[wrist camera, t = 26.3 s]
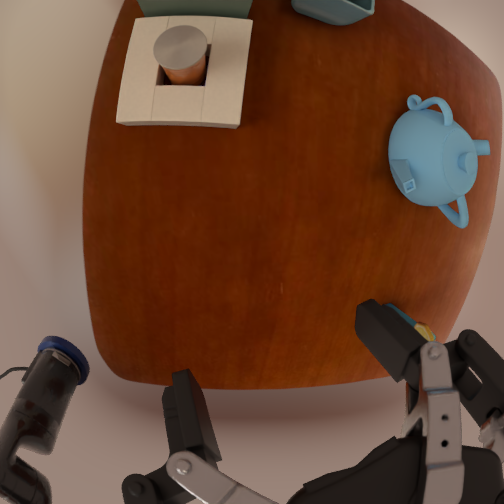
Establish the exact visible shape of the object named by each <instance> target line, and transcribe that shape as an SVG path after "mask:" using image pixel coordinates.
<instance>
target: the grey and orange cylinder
mask: <svg viewBox="0 0 504 504" xmlns="http://www.w3.org/2000/svg"><path fill="white" fill-rule="evenodd" d="M206 50H207V39H206V37H205V35H204V33H203V32H202V31H201V30H199V29H198V28H196V27H193V26H189V25H179V26H175V27H172V28H169V29H167V30H166V31H164V32H163V33H162V34H161V35H160V36H159V37H158V38H157V39H156V41H155V43H154V46H153V55H154V58H155V59H156V61H157V62H158V63H159V64H160V65H161V66H162V67H163V69H164V71H165V73H166V75H167V76H168V78H169V80H170V82H171V83H172V85H186V86H198V85H200V84H201V83H202V81H203V80H204V78H205V75H206V61H205V52H206Z"/></svg>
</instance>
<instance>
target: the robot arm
mask: <svg viewBox="0 0 504 504" xmlns="http://www.w3.org/2000/svg"><path fill="white" fill-rule="evenodd" d="M355 331H356V334H357V336H358V338H359V339H360V340H361V341H362V342H363V343H364V345H365V346H366V347H367V348H368V349H369V350H370V352H371V353H372V354H373V355H374V356H375V357H376V359H377V360H378V361H379V362H380V363H381V365H382V366H383V367H384V368H385V369H386V370H387V372H388V373H389V374H390V375H391V376H392V378H393V379H394V380H395V381H396V382H397V383H398V382H399V381H401V380H402V379H405V380H406V381H407V382H406V404H405V407H406V408H405V419H404V423H403V426H402V430H401V438H399V439H396V437H395V436H393V437H392V438H390V439H389V440H387V441H386V442H384V443H383V444H381V445H379V446H378V447H376V448H375V449H373V450H372V451H371V452H370V453H369V454H368V455H367V456H366V457H365V458H364V459H363V460H362V461H361V462H359V463H358V464H357V465H356V466H354V467H351V468H348V469H344V470H340V471H336V472H332V473H328V474H325V475H323V476H321V477H319V478H316V479H314V480H312V481H309V482H307V483H305V484H303V488H302V489H300V490H299V491H297V492H296V493H295V494H294V495H293V496H292V497H291V498H290V499H289V501H288V502H287V504H504V479H503V473H502V463H503V462H504V360H503V359H502V358H501V357H500V356H499V354H498V353H497V352H496V351H495V350H494V349H493V348H492V347H491V346H490V345H489V344H488V343H487V342H486V341H485V340H484V339H483V338H482V337H481V336H480V335H479V334H478V333H477V332H475V331H473V330H470V329H469V330H468V329H467V330H463V331H462V332H461V333H460V334H459V337H458V339H457V340H454V341H451V342H448V343H445V344H442V343H440V342H437V341H430V342H429V341H428V340H426V339H425V338H424V337H423V336H422V335H421V334H420V333H419V332H418V331H417V330H416V329H415V328H414V327H413V326H412V325H411V324H410V323H409V322H406V320H405V319H404V318H403V317H402V316H400V314H399V313H398V312H397V311H396V310H395V309H393V308H391V307H389V306H387V305H385V304H383V305H379V304H378V303H377V302H376V301H375V300H374V299H369V300H367V301H365V302H363V303H361V304H359V305H357V310H356V320H355ZM469 366H470V368H471V369H472V370H473V371H474V372H475V373H476V374H477V375H478V377H479V378H480V379H481V381H482V383H481V382H480V381H479V380H478V379H477V378H476V376H475V375H474V374H473V373H472V372H471V371H470V370H469ZM17 370H26V373H25V375H24V376H23V378H22V383H23V386H22V388H21V390H20V392H19V394H18V395H17V397H16V399H15V401H14V403H13V405H12V407H11V409H10V411H9V413H8V415H7V417H6V419H5V421H4V423H3V425H2V427H1V429H0V497H1V498H3V499H4V500H6V501H7V502H9V503H10V504H52V491H51V486H50V483H49V481H48V479H47V478H46V477H45V476H44V475H43V474H42V473H40V472H39V471H38V470H37V469H35V468H34V467H32V466H31V465H29V464H28V463H27V462H25V461H24V460H22V459H21V458H20V457H18V456H17V455H16V452H17V450H18V449H19V448H24V449H27V450H30V451H33V452H35V453H38V454H41V455H50V454H51V453H52V451H53V449H54V446H55V442H56V439H57V436H58V433H59V430H60V428H61V425H62V422H63V419H64V416H65V414H66V411H67V408H68V406H69V403H70V401H71V398H72V396H73V393H74V391H75V388H76V386H77V384H78V382H79V380H80V378H81V369H80V367H79V365H78V364H77V362H76V361H75V360H74V359H73V358H72V357H71V356H70V355H69V354H68V353H66V352H65V351H63V350H61V349H59V348H56V347H47V348H45V349H44V350H39V352H38V354H37V355H36V357H35V358H34V360H33V362H32V363H31V365H30V366H29V368H28V367H14V368H10V369H9V370H7V371H6V372H5V373H3V374H2V375H0V379H1V378H3V377H4V376H6V375H7V374H8V373H9V372H12V371H17ZM172 379H173V386H169V387H166V388H165V390H164V393H163V396H162V403H163V409H164V418H165V425H166V431H167V437H168V443H169V449H170V454H169V458H168V460H167V462H166V463H165V464H164V465H163V466H162V467H161V468H159V469H157V470H155V471H153V472H151V473H149V474H147V475H145V476H144V475H141V474H131V475H129V476H127V477H126V478H125V479H124V481H123V483H122V493H123V498H124V502H125V504H186V503H188V502H190V501H192V500H194V499H196V498H198V499H199V500H201V501H202V502H204V503H205V504H279V503H277V502H274V501H272V500H270V499H268V498H266V497H264V496H262V495H261V494H259V493H257V492H255V491H253V490H251V489H249V488H248V487H246V486H244V485H242V484H240V483H238V482H236V481H235V480H233V479H232V478H230V477H228V476H227V475H225V474H223V473H222V472H220V471H219V470H218V467H217V464H216V462H218V461H221V460H222V458H221V455H220V451H219V448H218V445H217V441H216V438H215V434H214V431H213V428H212V424H211V420H210V417H209V413H208V409H207V406H206V402H205V398H204V395H203V392H202V390H201V388H200V386H199V384H198V382H197V381H196V379H195V378H194V376H193V374H192V373H191V371H190V370H189V369H185V370H181V371H178V372H174V373H172ZM460 402H461V403H462V404H463V406H464V407H465V408H466V410H467V411H468V412H469V413H470V415H471V416H472V417H473V419H474V420H475V421H476V423H477V424H478V425H479V427H480V435H479V441H480V442H482V443H483V448H479V447H471V446H463V445H462V430H461V409H460Z"/></svg>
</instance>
